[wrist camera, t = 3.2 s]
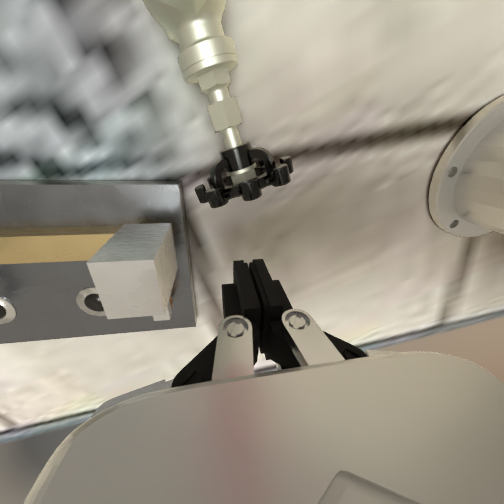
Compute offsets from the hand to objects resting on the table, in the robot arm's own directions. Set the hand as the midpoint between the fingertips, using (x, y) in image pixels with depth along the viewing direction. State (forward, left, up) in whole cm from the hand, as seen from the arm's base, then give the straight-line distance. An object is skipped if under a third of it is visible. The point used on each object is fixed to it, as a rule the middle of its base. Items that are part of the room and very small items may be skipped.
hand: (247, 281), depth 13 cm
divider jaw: (+6, +2, -6) cm, 9 cm away
